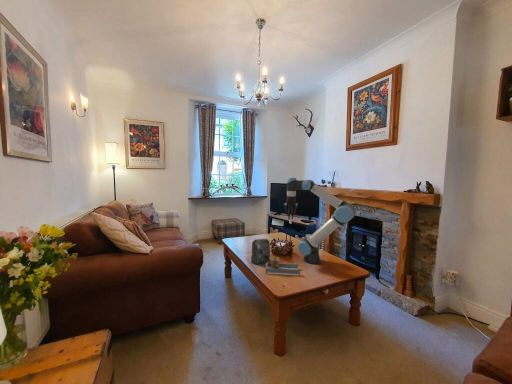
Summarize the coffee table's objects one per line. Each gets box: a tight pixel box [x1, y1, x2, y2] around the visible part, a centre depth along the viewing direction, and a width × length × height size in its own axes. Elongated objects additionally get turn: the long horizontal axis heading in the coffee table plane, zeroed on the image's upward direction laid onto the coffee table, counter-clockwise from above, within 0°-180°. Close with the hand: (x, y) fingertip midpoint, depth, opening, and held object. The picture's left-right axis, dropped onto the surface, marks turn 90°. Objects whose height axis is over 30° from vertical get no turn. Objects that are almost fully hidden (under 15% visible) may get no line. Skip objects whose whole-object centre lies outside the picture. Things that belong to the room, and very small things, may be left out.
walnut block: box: [270, 256, 280, 268], centre depth 177 cm, size 6×8×8 cm
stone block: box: [250, 238, 271, 265], centre depth 193 cm, size 18×9×20 cm, turn 124°
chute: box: [265, 261, 300, 276], centre depth 176 cm, size 26×12×4 cm, turn 85°
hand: (290, 223), depth 193 cm, fingers closed
